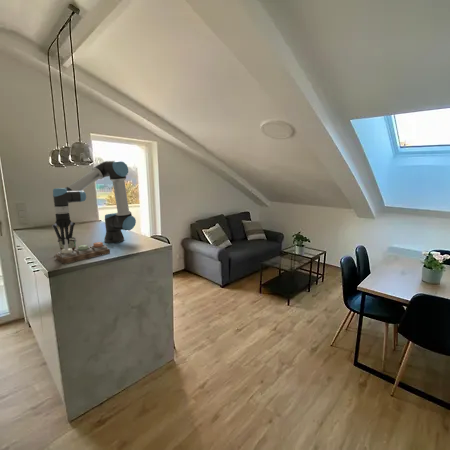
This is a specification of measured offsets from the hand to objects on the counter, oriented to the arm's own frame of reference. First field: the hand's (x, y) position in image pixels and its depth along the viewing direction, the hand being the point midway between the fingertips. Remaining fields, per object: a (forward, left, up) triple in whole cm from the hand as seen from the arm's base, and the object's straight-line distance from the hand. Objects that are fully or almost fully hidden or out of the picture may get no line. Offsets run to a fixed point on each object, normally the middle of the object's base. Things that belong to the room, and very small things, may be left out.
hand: (66, 249), depth 170 cm
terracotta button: (-20, 0, -2) cm, 20 cm away
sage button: (-10, 0, -2) cm, 10 cm away
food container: (-8, -19, -7) cm, 22 cm away
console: (-10, 0, -7) cm, 12 cm away
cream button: (0, 0, -3) cm, 3 cm away
